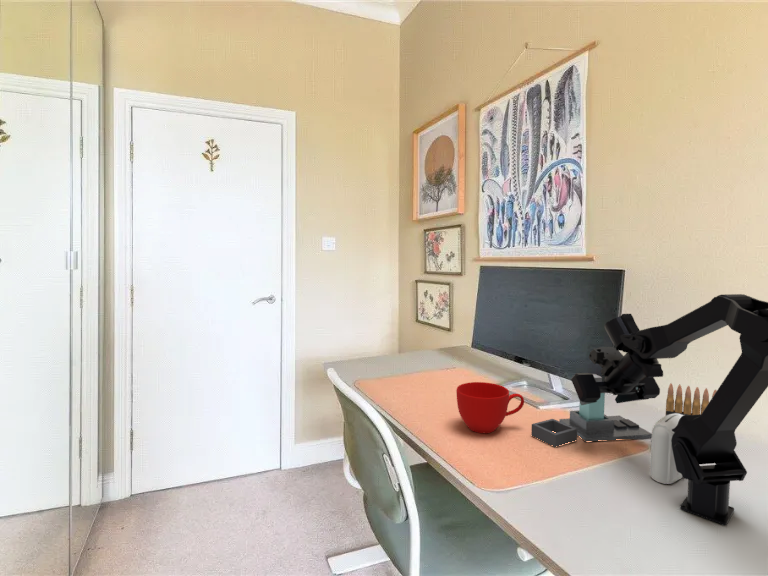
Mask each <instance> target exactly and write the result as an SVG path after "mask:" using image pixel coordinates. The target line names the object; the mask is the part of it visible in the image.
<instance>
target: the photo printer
mask: <svg viewBox="0 0 768 576" xmlns="http://www.w3.org/2000/svg"><path fill="white" fill-rule="evenodd" d="M682 416H683V415H681V414H678V413H674V414H669V415H667V416H665V415H664V416H663V417H662V418H660V419H658V420H657V422H655V423H654V425H653V427H652V430H651V434H652V438H651V444H650V445H651V446H650V459H649V477H651V478H652V480H653V481H656V482H658V483H660V484H664V485H667V484H668V485H670V484H674V483H675V482H677V481H679V480H680V479H682V478H683V477H682V474H681V473H679V472H678V471H677V470H676V465H675V460H674V455H673V450H672V442H671V439H672V436H673V434H674V433H675V432H673V431H672V429H674V428H675V427H676V426H677V424H678V422H679V419H680V418H681V417H682Z"/></svg>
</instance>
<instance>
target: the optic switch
mask: <svg viewBox="0 0 768 576" xmlns="http://www.w3.org/2000/svg"><path fill="white" fill-rule="evenodd" d="M558 421H560V422H562V423H564V424H567V425H569V426H571V427H574V428H576V429H577V435H578V436H580V437H581V438H582V439H584V440H585V441H598V440H616V439H634V440H644V439H645V440H646V439H652V432H649V431H648V430H646V429H644V428H642V427H640V425H639V424H638V423H636V422H634V421H632V420H630V419H628V418H627V419H626V418H625V417H623V416H621V415H607V414H605V413H604V419H602V420H586V419H585V418H583V417H582V416H580V415H579V409H578V410H569V418H559V420H558ZM578 436H577V437H578ZM581 438H580V439H581ZM582 439H581V440H582ZM585 441H584V442H585Z"/></svg>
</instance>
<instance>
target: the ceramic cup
mask: <svg viewBox="0 0 768 576" xmlns="http://www.w3.org/2000/svg"><path fill="white" fill-rule="evenodd" d="M455 391H456V403H457V409H458V413H459V416H460V418H461V419H462V421H463V423H464V424H465V425H466V426H467V428H468V429H469V430H470V431H472V432H475V433H479V434H490V433H493V432H495V431H496V429H497V428H499V427H500V426H501V424H502V423H503V422H504V420H505V418H506V417H508V416H512V415H514V414H516V413H518V412H519V411H520V410H521V409H522V408H523V407H524V404H525V399H524V396H522V394H520V393H512V394H510V390H509V389H508V388H506V387H505V386H503V385H500V384H497V383H493V382H481V381H475V382H473V381H472V382H465V383H462V384H460V385H458V386H457V387H456V390H455ZM514 398H519V399H520V403H519V405H518V406H517V407H516V408H515V409H512V410H509V411H508V407H509V404H510V401H511V400H512V399H514Z"/></svg>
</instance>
